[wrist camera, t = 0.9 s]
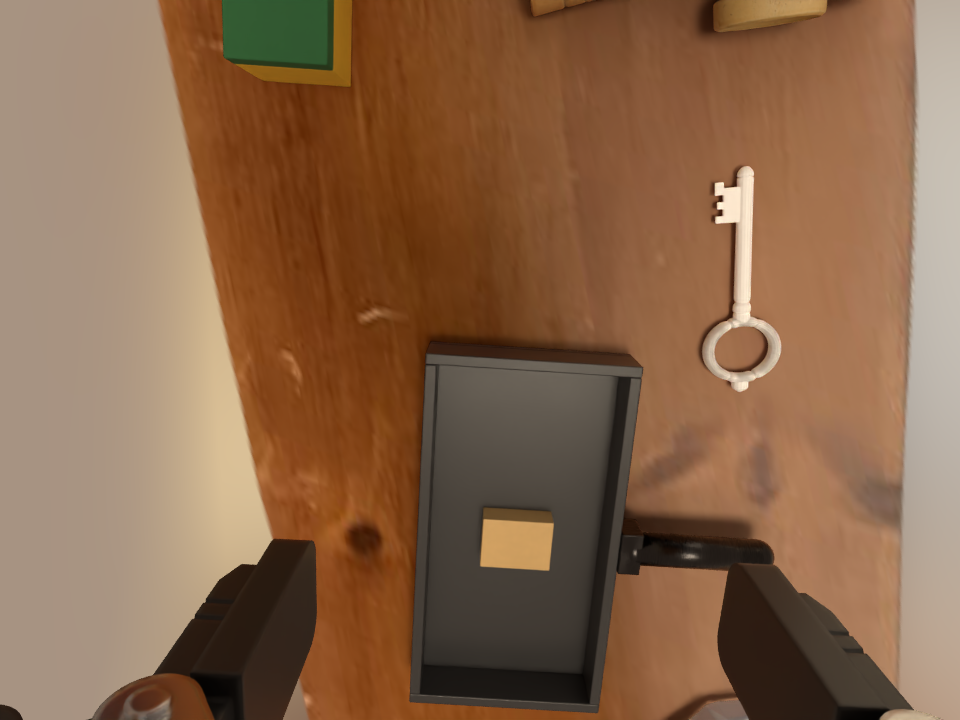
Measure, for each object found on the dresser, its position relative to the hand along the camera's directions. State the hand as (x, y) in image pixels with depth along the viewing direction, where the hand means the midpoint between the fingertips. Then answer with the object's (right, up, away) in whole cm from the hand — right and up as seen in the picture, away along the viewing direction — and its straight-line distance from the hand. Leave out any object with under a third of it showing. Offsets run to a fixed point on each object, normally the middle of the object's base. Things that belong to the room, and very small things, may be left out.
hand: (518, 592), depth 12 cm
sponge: (-9, +22, +19) cm, 30 cm away
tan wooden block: (+1, -6, +25) cm, 26 cm away
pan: (+1, -5, +25) cm, 26 cm away
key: (+13, +9, +22) cm, 27 cm away
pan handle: (+11, -6, +24) cm, 28 cm away
